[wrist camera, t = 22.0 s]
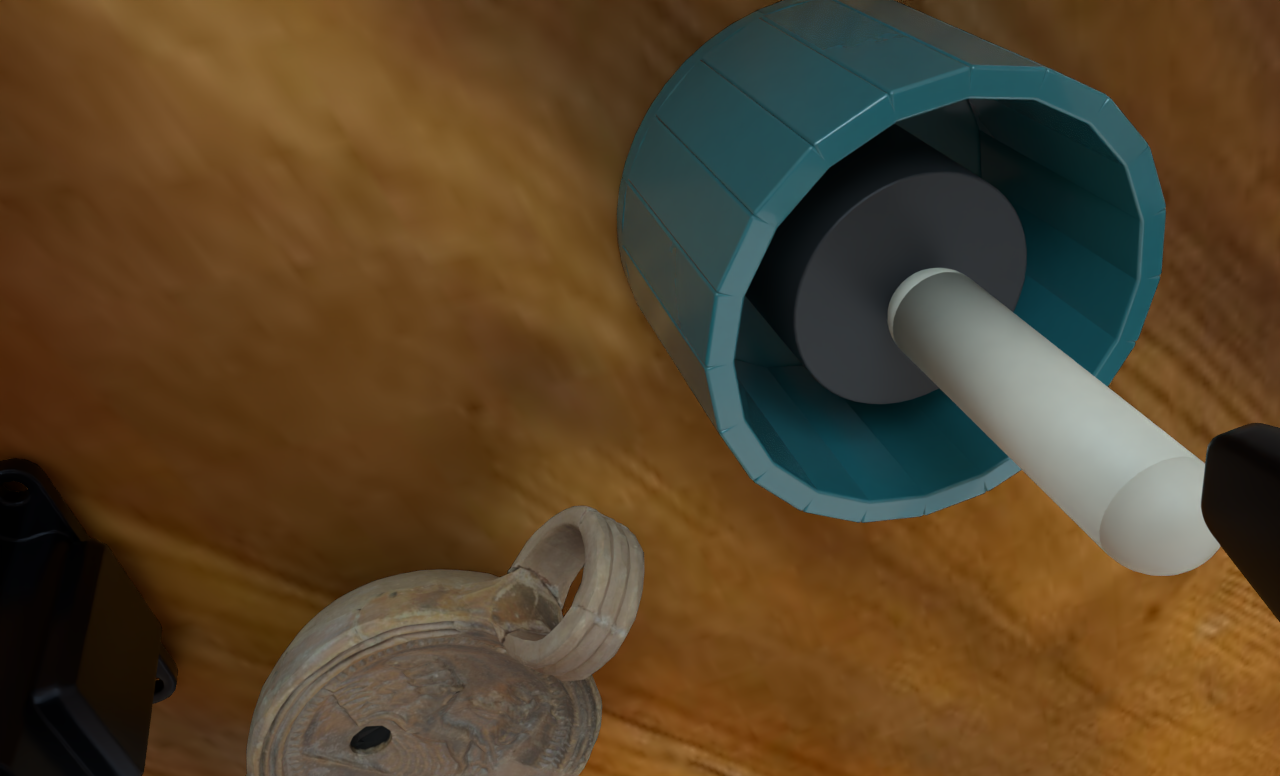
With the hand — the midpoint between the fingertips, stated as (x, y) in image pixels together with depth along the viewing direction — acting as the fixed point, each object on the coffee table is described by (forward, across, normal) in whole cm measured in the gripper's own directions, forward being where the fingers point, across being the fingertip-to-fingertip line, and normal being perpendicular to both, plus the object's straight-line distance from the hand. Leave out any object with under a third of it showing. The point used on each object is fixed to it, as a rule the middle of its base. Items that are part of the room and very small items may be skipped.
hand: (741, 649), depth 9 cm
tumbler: (+13, -6, +3) cm, 15 cm away
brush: (+12, -6, +3) cm, 14 cm away
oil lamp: (+13, +5, +11) cm, 18 cm away
